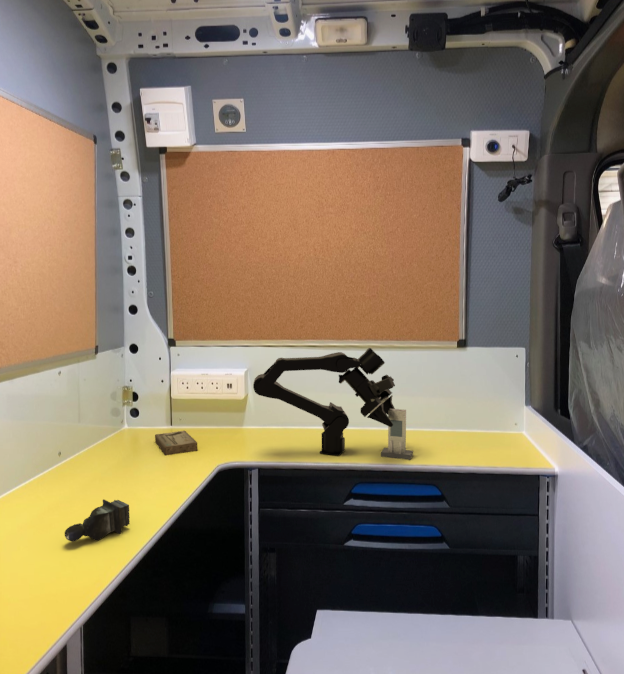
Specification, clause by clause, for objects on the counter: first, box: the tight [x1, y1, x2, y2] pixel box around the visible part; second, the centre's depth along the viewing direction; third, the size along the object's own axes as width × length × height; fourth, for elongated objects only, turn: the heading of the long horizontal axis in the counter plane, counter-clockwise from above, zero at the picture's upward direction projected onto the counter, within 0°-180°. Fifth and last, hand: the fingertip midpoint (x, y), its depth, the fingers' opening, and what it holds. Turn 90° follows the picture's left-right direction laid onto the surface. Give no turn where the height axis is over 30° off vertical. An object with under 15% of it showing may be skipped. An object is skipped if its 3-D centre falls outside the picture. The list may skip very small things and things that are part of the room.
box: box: [154, 430, 198, 456], centre depth 179 cm, size 11×17×3 cm, turn 26°
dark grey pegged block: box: [380, 441, 414, 461], centre depth 167 cm, size 9×5×5 cm, turn 70°
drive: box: [387, 408, 407, 453], centre depth 166 cm, size 5×2×13 cm, turn 70°
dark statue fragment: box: [64, 499, 131, 542], centre depth 114 cm, size 6×13×6 cm, turn 146°
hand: (395, 422), depth 166 cm, fingers open, 9 cm apart
